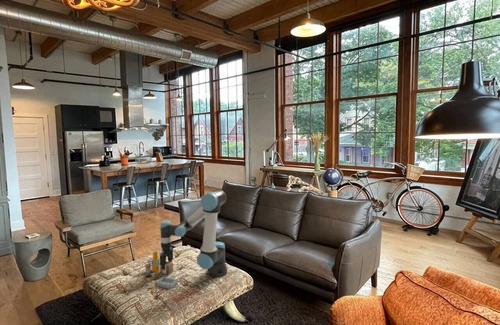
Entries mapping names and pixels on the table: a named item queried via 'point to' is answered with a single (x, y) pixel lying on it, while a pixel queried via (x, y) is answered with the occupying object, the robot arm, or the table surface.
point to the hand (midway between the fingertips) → (167, 271)
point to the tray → (166, 282)
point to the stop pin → (148, 270)
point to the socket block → (148, 278)
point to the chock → (167, 268)
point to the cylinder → (155, 261)
